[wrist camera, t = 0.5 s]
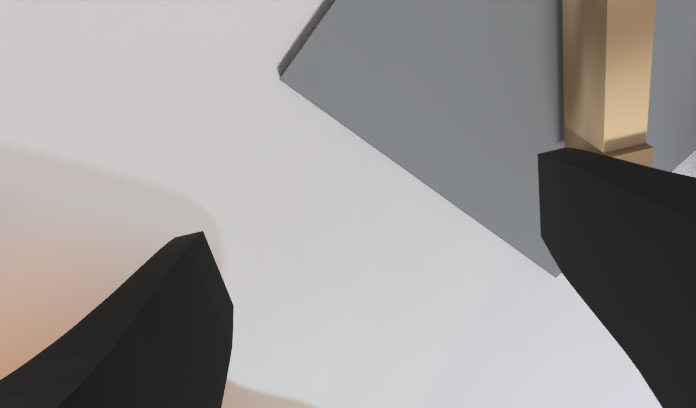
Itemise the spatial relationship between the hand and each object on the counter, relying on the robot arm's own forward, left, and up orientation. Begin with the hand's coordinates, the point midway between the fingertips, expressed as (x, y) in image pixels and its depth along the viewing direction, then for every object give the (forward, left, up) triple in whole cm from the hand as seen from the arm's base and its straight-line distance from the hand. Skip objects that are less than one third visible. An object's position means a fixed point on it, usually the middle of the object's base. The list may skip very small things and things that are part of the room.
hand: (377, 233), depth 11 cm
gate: (-5, -7, -8) cm, 12 cm away
